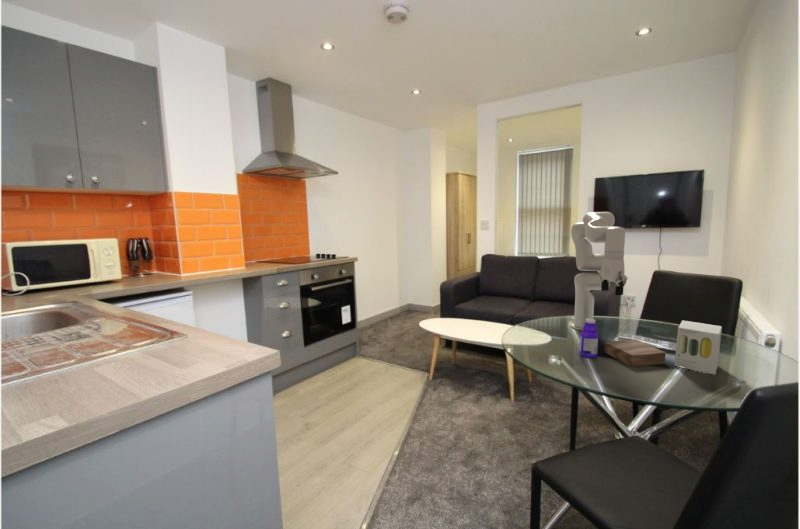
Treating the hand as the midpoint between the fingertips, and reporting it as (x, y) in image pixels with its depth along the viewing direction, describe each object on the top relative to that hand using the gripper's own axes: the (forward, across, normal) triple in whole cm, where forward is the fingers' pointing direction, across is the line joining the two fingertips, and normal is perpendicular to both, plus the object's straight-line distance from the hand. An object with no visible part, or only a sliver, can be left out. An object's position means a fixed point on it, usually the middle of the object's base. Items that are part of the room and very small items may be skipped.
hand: (611, 292), depth 159 cm
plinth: (+29, +5, +8) cm, 31 cm away
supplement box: (+30, +16, +28) cm, 43 cm away
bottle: (+29, +1, -10) cm, 31 cm away
